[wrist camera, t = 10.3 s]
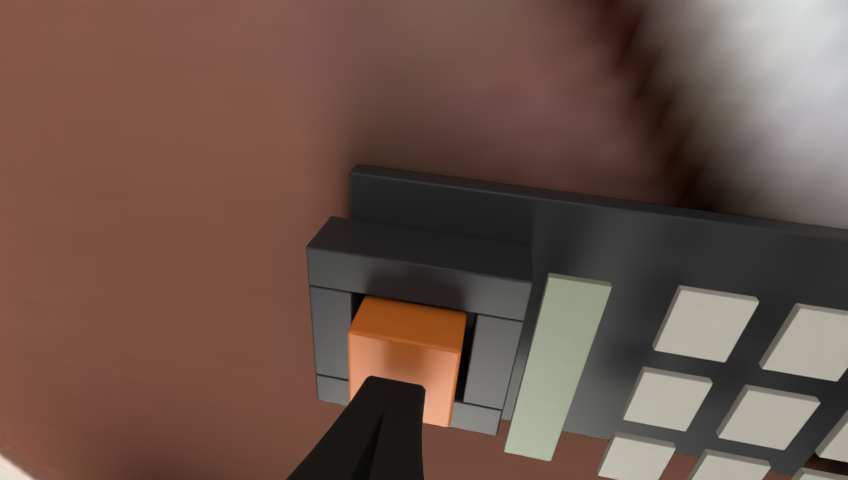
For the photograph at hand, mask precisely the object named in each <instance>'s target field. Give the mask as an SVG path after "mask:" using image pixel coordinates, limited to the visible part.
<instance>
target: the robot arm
mask: <svg viewBox="0 0 848 480" xmlns="http://www.w3.org/2000/svg"><path fill="white" fill-rule="evenodd" d="M425 394H426V389H425V388H424V387H423V386H422V385H418V384H413V383H408V382H403V381H398V380H392V379H387V378H382V377H377V376H372V375H371V376H369V377H367V378H366V379H365V380H364V382H363V384H362V385H361V387H360V388H359V390H358V391H357V393H356V394H355V396H354V397H353V399H352V400H351V401H350V403H349V404H348V405H347V407H346V408H345V410H344V411H343V412H342V414H341V415H340V416H339V417H338V419H337V420H336V421H335V423H334V424H333V425H332V427H331V428H330V429H329V430H328V431H327V433H326V434H325V435H324V436H323V438H322V439H321V440H320V441H319V442H318V444H317V445H316V446H315V447H314V449H313V450H312V451H311V452H310V453H309V454H308V456H307V457H306V458H305V459H304V460H303V461H302V462H301V464H300V465H299V466H298V467H297V468H296V469H295V470H294V471H293V472H292V473H291V475H290V476H289V477H288V478H287V479H286V480H424V475H423V461H422V422H423V413H424V404H425Z"/></svg>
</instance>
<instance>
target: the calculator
mask: <svg viewBox="0 0 848 480" xmlns="http://www.w3.org/2000/svg"><path fill="white" fill-rule="evenodd" d="M306 251H307V264H308V278H309V284H310V285H309V291H310V304H311V318H312V332H313V345H314V359H315V372H316V384H317V398H318V400H321V401H326V402H331V403H336V404H341V405H346V406H347V405H348V404H349V369H348V330H349V328H350V326H351V324H352V322H353V320H354V318H355V316H356V314H357V312H358V310H359V308H360V306H361V303H362V301H363V299H364V298H365V296H374V297H380V298H386V299H392V300H398V301H404V302H410V303H416V304H422V305H428V306H433V307H439V308H445V309H451V310H457V311H463V312H465V313H466V315H467V318H466V324H465V331H464V338H463V345H462V352H461V358H460V365H459V371H458V378H457V384H456V391H455V397H454V404H453V410H452V417H451V423H450V425H449V426H450V427H455V428H460V429H465V430H470V431H475V432H480V433H485V434H490V435H497V434H498V430H499V426H500V422H501V419H504V420H511V417H512V413H513V409H514V405H515V401H516V397H517V393H518V389H519V385H520V382H521V378H522V374H523V370H524V366H525V362H526V358H527V354H528V350H529V347H530V343H531V339H532V335H533V331H534V327H535V323H536V319H537V315H538V311H539V308H540V304H541V300H542V296H543V292H544V288H545V284H546V280H547V276H548V273H554V274H561V275H567V276H573V277H580V278H586V279H593V280H599V281H606V282H610V283H611V285H612V288H611V291H610V294H609V297H608V300H607V303H606V305H605V308H604V311H603V314H602V317H601V320H600V323H599V325H598V328H597V331H596V334H595V337H594V340H593V342H592V345H591V348H590V351H589V354H588V357H587V360H586V362H585V365H584V368H583V371H582V374H581V377H580V379H579V382H578V385H577V388H576V391H575V394H574V397H573V399H572V402H571V405H570V408H569V411H568V414H567V417H566V419H565V422H564V425H563V428H562V431H566V432H571V433H576V434H581V435H586V436H591V437H596V438H601V439H606V440H610V439H611V437H612V435H613V432H614V431H617V432H622V433H627V434H632V435H637V436H643V437H648V438H653V439H658V440H663V441H668V442H673V443H674V445H675V447H676V449H675V451H674V453H678V454H683V455H688V456H693V457H698V458H700V456H701V455H702V453H703V451H704V450H705V449H710V450H715V451H720V452H725V453H730V454H736V455H741V456H746V457H751V458H756V459H761V460H767V461H768V462H769V464H770V466H771V468H770V469H769V472H774V473H780V474H785V475H790V476H794V475H795V473H796V472H797V471H798V470H799V469H800V467H803V466H804V464H805V463H806V462H807V461H808V460H809V458H810V457H811V456H812V455H813V454H814V452H815V449H816V448H817V447H818V446H819V444H820V443H821V442H822V441H823V440H824V438H825V437H826V436H827V435H828V433H829V432H830V431H831V430H832V429H833V427H834V426H835V425H836V424H837V423H838V421H839V420H840V419H841V418H842V416H843V415H844V414H845V413H846V412H847V410H848V368H847V369H846V371H845V372H844V373H843V375H842V376H841V377H840V378H839V380H838V381H830V380H825V379H819V378H813V377H807V376H801V375H795V374H789V373H784V372H778V371H772V370H766V369H762V368H761V366H760V365H759V362H760V360H761V358H762V357H763V355H764V353H765V352H766V350H767V349H768V347H769V345H770V344H771V342H772V341H773V339H774V337H775V336H776V334H777V333H778V331H779V329H780V328H781V326H782V325H783V323H784V321H785V320H786V318H787V317H788V315H789V313H790V312H791V310H792V309H793V307H794V305H795V304H796V303H799V304H805V305H812V306H819V307H825V308H832V309H838V310H845V311H848V230H845V229H837V228H830V227H822V226H815V225H807V224H800V223H792V222H785V221H777V220H770V219H762V218H755V217H747V216H740V215H732V214H725V213H717V212H710V211H702V210H695V209H687V208H680V207H672V206H665V205H657V204H650V203H642V202H635V201H627V200H620V199H612V198H605V197H597V196H590V195H582V194H575V193H567V192H560V191H552V190H545V189H537V188H530V187H522V186H515V185H507V184H500V183H492V182H485V181H477V180H470V179H462V178H455V177H447V176H440V175H432V174H425V173H417V172H410V171H402V170H395V169H387V168H380V167H372V166H365V165H356V166H355V167H354V168H353V170H352V171H351V172H350V219H346V218H339V217H330V218H329V220H328V221H327V222H326V223H325V225H324V226H323V227H322V228H321V229H320V231H319V232H318V233H317V234H316V235H315V237H314V238H313V239H312V240H311V242H310V243H309V244H308V245H307V247H306ZM679 285H681V286H688V287H694V288H701V289H708V290H714V291H721V292H727V293H734V294H740V295H747V296H753V297H756V298H757V299H758V301H759V304H758V305H757V307H756V309H755V311H754V312H753V314H752V316H751V318H750V320H749V321H748V323H747V325H746V327H745V328H744V330H743V332H742V334H741V335H740V337H739V339H738V341H737V342H736V344H735V346H734V348H733V349H732V351H731V353H730V355H729V356H728V358H727V360H726V362H719V361H713V360H708V359H702V358H696V357H690V356H684V355H678V354H672V353H667V352H661V351H655V350H654V348H653V346H652V344H653V342H654V340H655V338H656V335H657V333H658V331H659V329H660V326H661V324H662V322H663V320H664V317H665V315H666V313H667V311H668V308H669V306H670V304H671V302H672V299H673V297H674V295H675V293H676V290H677V288H678V286H679ZM643 366H644V367H649V368H655V369H661V370H667V371H672V372H678V373H684V374H689V375H695V376H701V377H706V378H710V379H711V381H712V383H713V384H712V386H711V388H710V390H709V391H708V393H707V395H706V397H705V398H704V400H703V402H702V404H701V405H700V407H699V409H698V411H697V412H696V414H695V416H694V418H693V419H692V421H691V423H690V425H689V427H688V428H687V430H686V431H681V430H675V429H670V428H665V427H659V426H654V425H649V424H644V423H638V422H633V421H628V420H623V417H622V412H623V410H624V407H625V405H626V403H627V401H628V398H629V396H630V394H631V392H632V389H633V387H634V385H635V383H636V380H637V378H638V376H639V374H640V371H641V369H642V367H643ZM745 385H752V386H758V387H763V388H769V389H775V390H781V391H786V392H792V393H798V394H803V395H809V396H815V397H817V399H818V400H819V401H820V404H819V406H818V407H817V408H816V410H815V411H814V412H813V414H812V415H811V416H810V417H809V419H808V420H807V421H806V423H805V424H804V425H803V427H802V428H801V429H800V430H799V432H798V433H797V434H796V436H795V437H794V438H793V440H792V441H791V442H790V443H789V445H788V446H787V447H786V449H785V450H780V449H775V448H770V447H765V446H759V445H754V444H749V443H744V442H738V441H733V440H728V439H723V438H719V437H718V435H717V433H716V430H717V429H718V427H719V426H720V424H721V422H722V421H723V419H724V418H725V416H726V414H727V413H728V411H729V410H730V408H731V406H732V405H733V403H734V402H735V400H736V398H737V397H738V395H739V394H740V392H741V390H742V389H743V387H744V386H745Z"/></svg>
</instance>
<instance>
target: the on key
mask: <svg viewBox="0 0 848 480" xmlns="http://www.w3.org/2000/svg"><path fill="white" fill-rule="evenodd" d="M466 318H467V315H466V313H465V312H463V311H457V310H451V309H445V308H439V307H433V306H428V305H422V304H416V303H410V302H404V301H398V300H392V299H386V298H380V297H374V296H365V298H364V299H363V301H362V303H361V306H360V308H359V310H358V312H357V314H356V316H355V318H354V320H353V322H352V324H351V326H350V328H349V330H348V369H349V403H350V401H351V400H352V399H353V397H354V396H355V394H356V393H357V391H358V390H359V388H360V387H361V385H362V384H363V382H364V380H365V379H366V378H367V377H369V376H371V375H372V376H377V377H382V378H387V379H392V380H398V381H403V382H408V383H413V384H418V385H422V386H423V387H424V388H425V389H426V394H425V404H424V413H423V423H428V424H433V425H438V426H443V427H449V425H450V423H451V417H452V410H453V404H454V397H455V391H456V384H457V378H458V371H459V365H460V358H461V352H462V345H463V338H464V331H465V324H466Z"/></svg>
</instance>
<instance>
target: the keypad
mask: <svg viewBox="0 0 848 480" xmlns="http://www.w3.org/2000/svg"><path fill="white" fill-rule="evenodd" d="M611 288H612V285H611V283H610V282H606V281H599V280H593V279H586V278H580V277H573V276H567V275H561V274H554V273H548V276H547V280H546V284H545V288H544V292H543V296H542V300H541V304H540V308H539V311H538V315H537V319H536V323H535V327H534V331H533V335H532V339H531V343H530V347H529V350H528V354H527V358H526V362H525V366H524V370H523V374H522V378H521V382H520V385H519V389H518V393H517V397H516V401H515V405H514V409H513V413H512V417H511V420H510V424H509V428H508V432H507V436H506V440H505V444H504V452H508V453H513V454H517V455H522V456H527V457H532V458H537V459H542V460H547V461H551V459H552V456H553V454H554V451H555V448H556V445H557V442H558V439H559V436H560V434H561V431H562V428H563V425H564V422H565V419H566V417H567V414H568V411H569V408H570V405H571V402H572V399H573V397H574V394H575V391H576V388H577V385H578V382H579V379H580V377H581V374H582V371H583V368H584V365H585V362H586V360H587V357H588V354H589V351H590V348H591V345H592V342H593V340H594V337H595V334H596V331H597V328H598V325H599V323H600V320H601V317H602V314H603V311H604V308H605V305H606V303H607V300H608V297H609V294H610V291H611ZM758 304H759V301H758V299H757V298H756V297H753V296H747V295H740V294H734V293H727V292H721V291H714V290H708V289H701V288H694V287H688V286H681V285H679V286H678V288H677V290H676V293H675V295H674V297H673V299H672V302H671V304H670V306H669V308H668V311H667V313H666V315H665V317H664V320H663V322H662V324H661V326H660V329H659V331H658V333H657V335H656V338H655V340H654V342H653V344H652V346H653V348H654V350H655V351H661V352H667V353H672V354H678V355H684V356H690V357H696V358H702V359H708V360H713V361H719V362H726V360H727V358H728V356H729V355H730V353H731V351H732V349H733V348H734V346H735V344H736V342H737V341H738V339H739V337H740V335H741V334H742V332H743V330H744V328H745V327H746V325H747V323H748V321H749V320H750V318H751V316H752V314H753V312H754V311H755V309H756V307H757V305H758ZM759 365H760V366H761V368H762V369H766V370H772V371H778V372H784V373H789V374H795V375H801V376H807V377H813V378H819V379H825V380H830V381H838V380H839V378H840V377H841V376H842V375H843V373H844V372H845V371H846V369H847V368H848V311H845V310H838V309H832V308H825V307H819V306H812V305H805V304H799V303H796V304H795V305H794V307H793V309H792V310H791V312H790V313H789V315H788V317H787V318H786V320H785V321H784V323H783V325H782V326H781V328H780V329H779V331H778V333H777V334H776V336H775V337H774V339H773V341H772V342H771V344H770V345H769V347H768V349H767V350H766V352H765V353H764V355H763V357H762V358H761V360H760V362H759ZM712 384H713V383H712V381H711V379H710V378H706V377H701V376H695V375H689V374H684V373H678V372H672V371H667V370H661V369H655V368H649V367H644V366H643V367H642V369H641V371H640V374H639V376H638V378H637V380H636V383H635V385H634V387H633V389H632V392H631V394H630V396H629V398H628V401H627V403H626V405H625V407H624V410H623V412H622V417H623V420H628V421H633V422H638V423H644V424H649V425H654V426H659V427H665V428H670V429H675V430H681V431H686V430H687V428H688V427H689V425H690V423H691V421H692V419H693V418H694V416H695V414H696V412H697V411H698V409H699V407H700V405H701V404H702V402H703V400H704V398H705V397H706V395H707V393H708V391H709V390H710V388H711V386H712ZM819 404H820V401H819V400H818V399H817V397H815V396H809V395H803V394H798V393H792V392H786V391H781V390H775V389H769V388H763V387H758V386H752V385H745V386H744V387H743V389H742V390H741V392H740V394H739V395H738V397H737V398H736V400H735V402H734V403H733V405H732V406H731V408H730V410H729V411H728V413H727V414H726V416H725V418H724V419H723V421H722V422H721V424H720V426H719V427H718V429H717V430H716V433H717V435H718V437H719V438H723V439H728V440H733V441H738V442H744V443H749V444H754V445H759V446H765V447H770V448H775V449H780V450H785V449H786V447H787V446H788V445H789V443H790V442H791V441H792V440H793V438H794V437H795V436H796V434H797V433H798V432H799V430H800V429H801V428H802V427H803V425H804V424H805V423H806V421H807V420H808V419H809V417H810V416H811V415H812V414H813V412H814V411H815V410H816V408H817V407H818V406H819ZM675 449H676V447H675V445H674V443H673V442H668V441H663V440H658V439H653V438H648V437H643V436H637V435H632V434H627V433H622V432H617V431H614V432H613V435H612V437H611V439H610V441H609V444H608V446H607V448H606V450H605V453H604V455H603V457H602V459H601V462H600V464H599V466H598V468H597V473H598V476H603V477H608V478H613V479H618V480H658V479H659V477H660V476H661V474H662V472H663V470H664V469H665V467H666V465H667V463H668V462H669V460H670V458H671V456H672V455H673V453H674V451H675ZM815 452H816V453H817V455H818V456H819V457H822V458H828V459H833V460H838V461H843V462H848V410H847V412H846V413H845V414H844V415H843V416H842V418H841V419H840V420H839V421H838V423H837V424H836V425H835V426H834V427H833V429H832V430H831V431H830V432H829V433H828V435H827V436H826V437H825V438H824V440H823V441H822V442H821V443H820V444H819V446H818V447H817V448H816V449H815ZM770 468H771V466H770V464H769V462H768V461H767V460H761V459H756V458H751V457H746V456H741V455H736V454H730V453H725V452H720V451H715V450H710V449H705V450H704V451H703V453H702V455H701V456H700V458H699V459H698V461H697V463H696V464H695V466H694V467H693V469H692V471H691V472H690V474H689V475H688V477H687V479H686V480H762V479H763V477H764V476H765V475H766V473H767V472H768V471H769V469H770ZM791 480H848V476H844V475H839V474H834V473H829V472H823V471H818V470H813V469H808V468H803V467H800V469H799V470H798V471H797V472H796V473H795V475H794V476H793V477H792V478H791Z"/></svg>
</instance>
